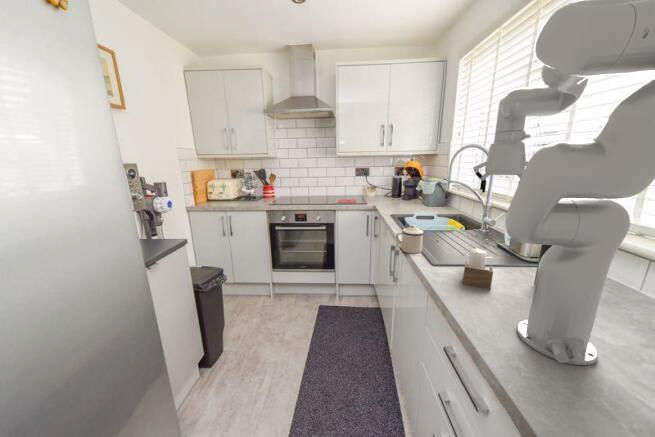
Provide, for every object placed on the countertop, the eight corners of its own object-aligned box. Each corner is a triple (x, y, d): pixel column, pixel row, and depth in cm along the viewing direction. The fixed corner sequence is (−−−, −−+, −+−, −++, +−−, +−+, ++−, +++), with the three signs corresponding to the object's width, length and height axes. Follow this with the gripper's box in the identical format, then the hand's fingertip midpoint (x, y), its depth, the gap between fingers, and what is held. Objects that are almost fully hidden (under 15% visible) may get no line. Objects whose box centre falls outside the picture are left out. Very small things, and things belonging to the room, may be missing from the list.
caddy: (490, 289, 74) (493, 271, 73) (462, 284, 78) (465, 266, 76) (489, 282, 78) (491, 265, 77) (463, 277, 82) (465, 261, 80)
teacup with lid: (424, 249, 109) (427, 224, 106) (418, 255, 102) (420, 229, 99) (399, 244, 116) (400, 221, 113) (391, 249, 109) (392, 224, 106)
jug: (484, 276, 82) (487, 254, 81) (467, 273, 85) (470, 252, 83) (483, 268, 89) (486, 247, 87) (467, 265, 91) (470, 245, 90)
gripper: (541, 137, 74) (531, 193, 78) (476, 141, 83) (470, 190, 87) (548, 135, 68) (537, 195, 72) (476, 139, 77) (470, 192, 80)
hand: (500, 192), depth 79 cm, fingers open, 9 cm apart
